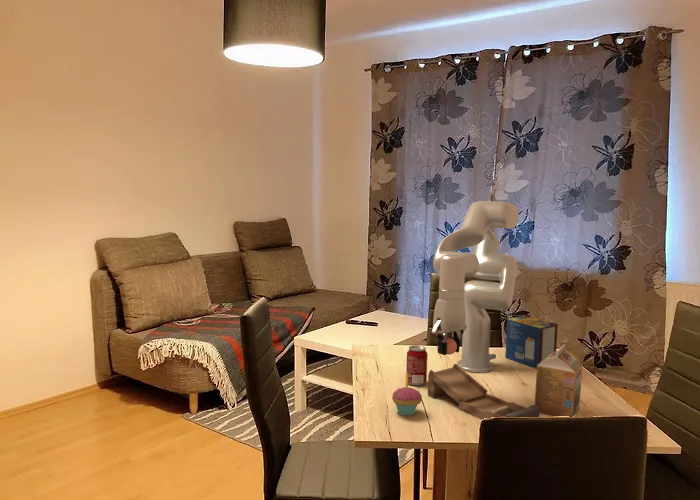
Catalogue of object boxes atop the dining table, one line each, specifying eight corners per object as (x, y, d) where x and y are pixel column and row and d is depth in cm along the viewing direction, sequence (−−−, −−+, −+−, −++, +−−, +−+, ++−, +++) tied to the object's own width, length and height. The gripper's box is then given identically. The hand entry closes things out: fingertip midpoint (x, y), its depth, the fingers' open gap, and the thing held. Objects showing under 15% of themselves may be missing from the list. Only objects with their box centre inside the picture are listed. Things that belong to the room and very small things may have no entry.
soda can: (425, 387, 184) (426, 351, 182) (404, 385, 185) (405, 350, 184) (427, 380, 190) (428, 345, 189) (406, 378, 192) (408, 344, 190)
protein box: (522, 354, 223) (524, 315, 221) (555, 364, 210) (558, 324, 208) (504, 358, 217) (506, 318, 215) (537, 369, 204) (540, 327, 202)
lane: (426, 395, 177) (427, 369, 176) (453, 387, 184) (454, 362, 183) (511, 433, 151) (512, 403, 150) (538, 422, 159) (540, 393, 158)
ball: (448, 351, 179) (448, 335, 179) (459, 355, 175) (460, 339, 175) (436, 353, 176) (437, 337, 176) (448, 357, 172) (449, 341, 172)
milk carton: (572, 420, 160) (576, 355, 158) (534, 412, 166) (538, 349, 163) (579, 408, 169) (583, 346, 167) (542, 400, 175) (546, 340, 172)
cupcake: (389, 406, 168) (390, 367, 166) (418, 406, 168) (419, 367, 167) (394, 418, 159) (395, 377, 158) (424, 418, 160) (425, 377, 158)
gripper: (460, 290, 182) (458, 346, 184) (422, 295, 172) (420, 353, 174) (479, 294, 176) (476, 351, 178) (440, 299, 166) (437, 360, 168)
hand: (448, 352), depth 176 cm, fingers closed on ball, 4 cm apart
